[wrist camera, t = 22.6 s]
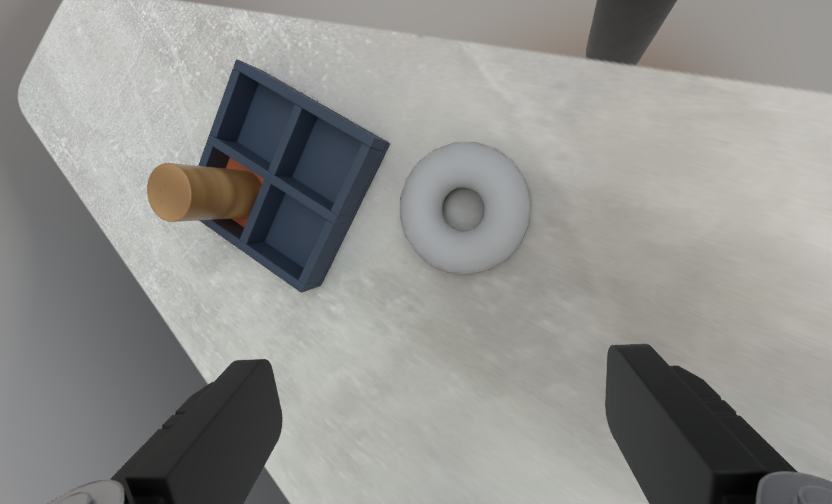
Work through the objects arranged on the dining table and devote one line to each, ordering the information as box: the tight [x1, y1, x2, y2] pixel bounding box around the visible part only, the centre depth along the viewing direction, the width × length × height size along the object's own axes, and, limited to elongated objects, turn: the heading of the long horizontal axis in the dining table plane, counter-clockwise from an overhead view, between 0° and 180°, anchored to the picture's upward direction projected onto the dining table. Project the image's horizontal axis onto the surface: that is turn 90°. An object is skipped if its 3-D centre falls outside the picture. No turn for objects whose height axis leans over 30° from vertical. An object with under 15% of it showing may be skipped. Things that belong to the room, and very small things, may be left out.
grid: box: [198, 60, 390, 293], centre depth 36 cm, size 14×14×3 cm
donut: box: [400, 142, 531, 274], centre depth 31 cm, size 10×4×10 cm
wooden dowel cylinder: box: [147, 163, 262, 222], centre depth 34 cm, size 4×4×8 cm
